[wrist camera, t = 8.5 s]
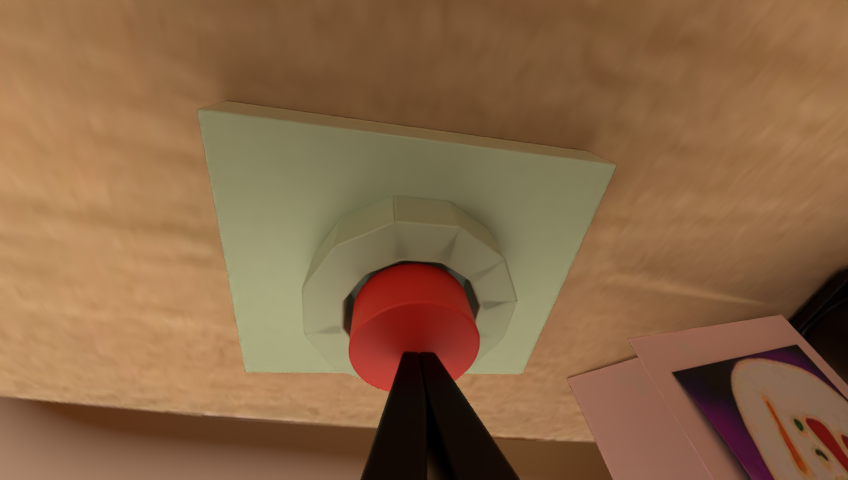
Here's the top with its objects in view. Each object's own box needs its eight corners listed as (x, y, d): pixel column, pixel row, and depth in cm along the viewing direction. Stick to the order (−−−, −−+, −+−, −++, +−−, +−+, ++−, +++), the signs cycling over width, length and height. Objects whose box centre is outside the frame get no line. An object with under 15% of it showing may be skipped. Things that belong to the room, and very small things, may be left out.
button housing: (510, 346, 16) (538, 412, 13) (259, 340, 14) (224, 417, 11) (588, 150, 11) (661, 185, 8) (224, 100, 9) (149, 121, 6)
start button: (454, 349, 11) (465, 394, 10) (351, 347, 11) (345, 395, 9) (478, 266, 10) (495, 305, 8) (356, 257, 9) (350, 298, 7)
